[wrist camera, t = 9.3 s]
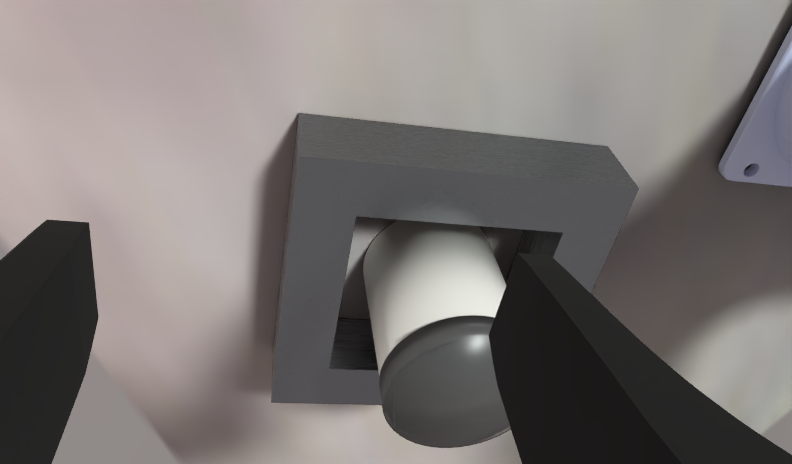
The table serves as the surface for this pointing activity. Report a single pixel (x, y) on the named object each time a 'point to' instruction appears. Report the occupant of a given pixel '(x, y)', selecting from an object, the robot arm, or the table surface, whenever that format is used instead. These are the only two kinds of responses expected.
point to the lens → (435, 331)
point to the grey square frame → (428, 202)
